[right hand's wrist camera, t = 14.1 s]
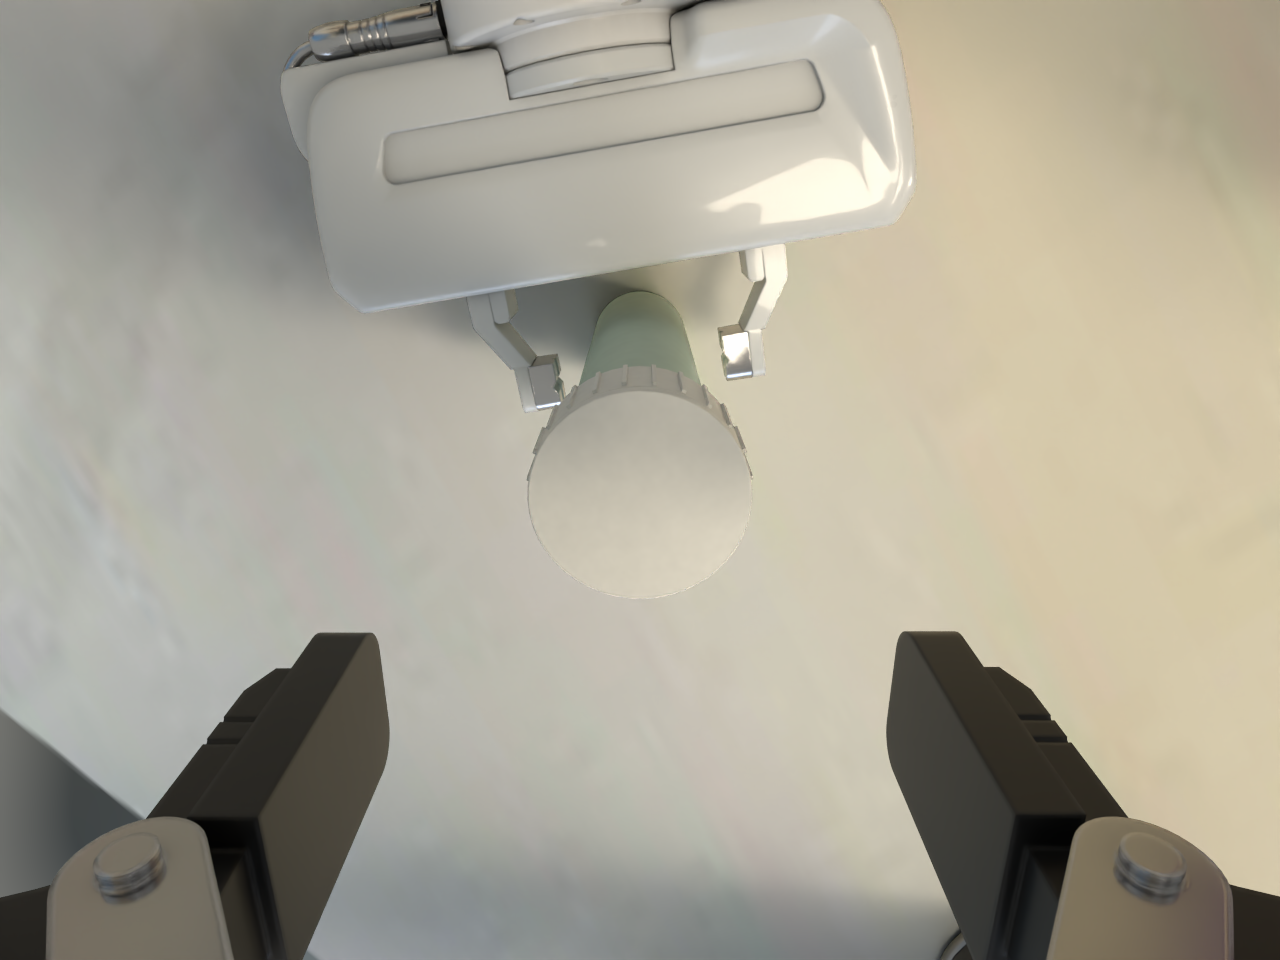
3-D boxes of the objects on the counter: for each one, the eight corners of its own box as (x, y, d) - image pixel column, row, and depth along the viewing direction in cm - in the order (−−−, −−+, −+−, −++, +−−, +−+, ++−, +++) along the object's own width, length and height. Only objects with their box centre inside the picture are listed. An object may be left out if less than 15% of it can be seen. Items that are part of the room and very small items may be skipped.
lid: (640, 593, 22) (640, 641, 20) (494, 464, 21) (476, 500, 18) (785, 463, 21) (803, 499, 18) (639, 318, 19) (639, 337, 17)
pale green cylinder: (640, 399, 38) (640, 602, 20) (576, 337, 37) (515, 493, 19) (703, 336, 37) (764, 492, 19) (639, 271, 36) (639, 370, 18)
